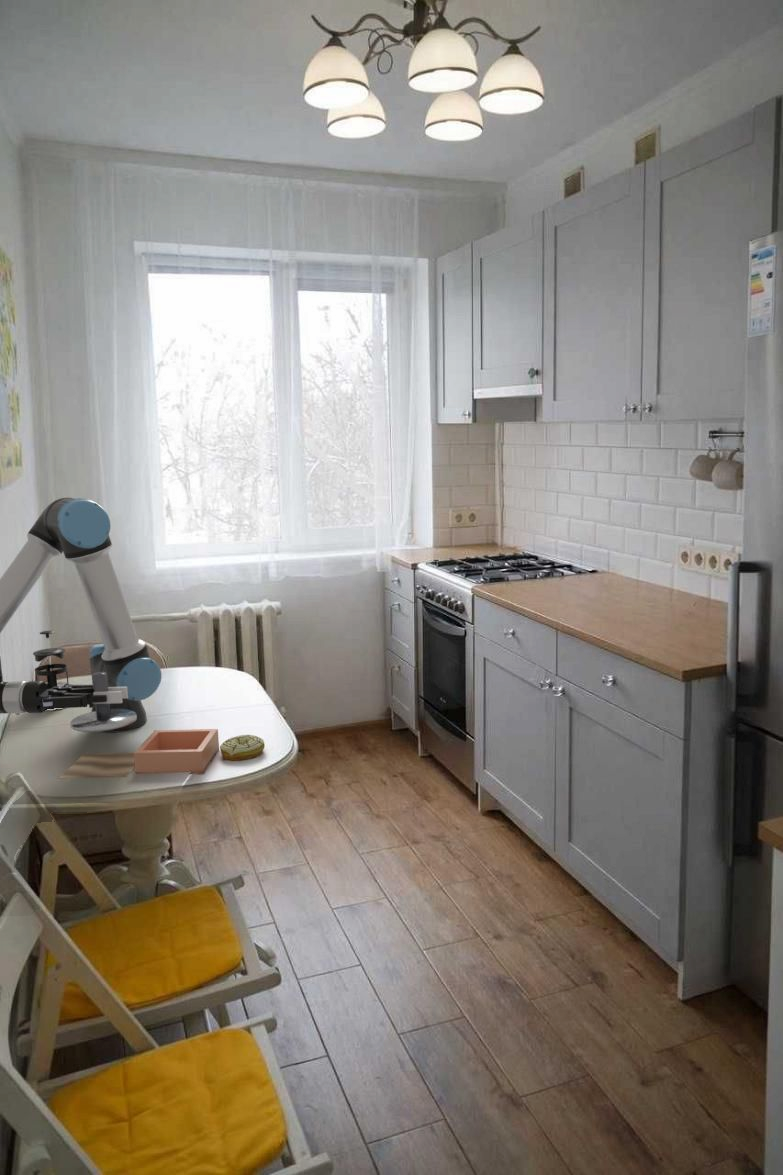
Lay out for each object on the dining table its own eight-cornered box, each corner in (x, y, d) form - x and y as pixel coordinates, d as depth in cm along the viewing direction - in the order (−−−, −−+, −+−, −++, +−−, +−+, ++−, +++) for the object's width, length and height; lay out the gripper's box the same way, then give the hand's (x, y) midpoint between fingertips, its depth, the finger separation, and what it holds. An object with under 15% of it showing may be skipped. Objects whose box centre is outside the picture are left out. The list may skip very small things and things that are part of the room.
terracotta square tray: (156, 751, 224) (154, 730, 223) (219, 749, 223) (217, 728, 222) (135, 775, 208) (133, 752, 207) (203, 773, 207) (201, 751, 206)
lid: (85, 712, 220) (80, 666, 218) (145, 711, 219) (141, 664, 217) (60, 732, 205) (54, 683, 203) (124, 731, 204) (119, 681, 202)
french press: (73, 708, 264) (66, 632, 260) (40, 713, 260) (31, 636, 256) (68, 698, 274) (61, 625, 270) (36, 703, 270) (28, 629, 266)
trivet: (84, 755, 222) (84, 753, 222) (147, 754, 222) (147, 752, 222) (58, 780, 207) (58, 777, 207) (126, 778, 206) (126, 776, 206)
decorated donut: (214, 753, 221) (213, 739, 221) (253, 744, 227) (252, 729, 226) (230, 765, 213) (229, 750, 212) (271, 755, 218) (270, 740, 218)
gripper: (43, 702, 220) (137, 699, 219) (13, 723, 204) (113, 720, 203) (40, 672, 219) (134, 670, 218) (9, 691, 203) (110, 689, 202)
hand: (124, 694), depth 210 cm, fingers closed on lid, 3 cm apart
